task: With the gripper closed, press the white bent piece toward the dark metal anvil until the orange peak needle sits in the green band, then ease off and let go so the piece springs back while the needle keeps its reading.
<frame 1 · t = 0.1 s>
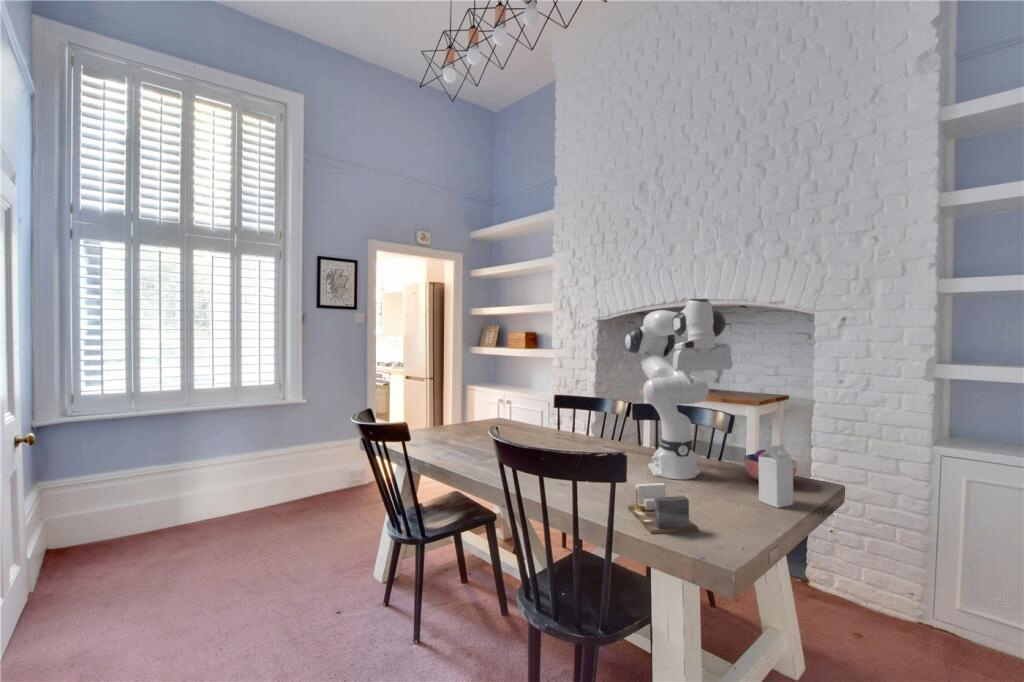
hand: (703, 383, 167), 39 cm above the table, tool pointing down, fingers open, 8 cm apart
gauge base: (660, 518, 147), on the table
peak needle: (639, 499, 151), point 5 cm above the table, slide at 0.0 cm
cell model: (770, 482, 180), on the table
white bent piece: (654, 498, 152), point 5 cm above the table, slide at 0.0 cm
milk carton: (775, 503, 158), on the table
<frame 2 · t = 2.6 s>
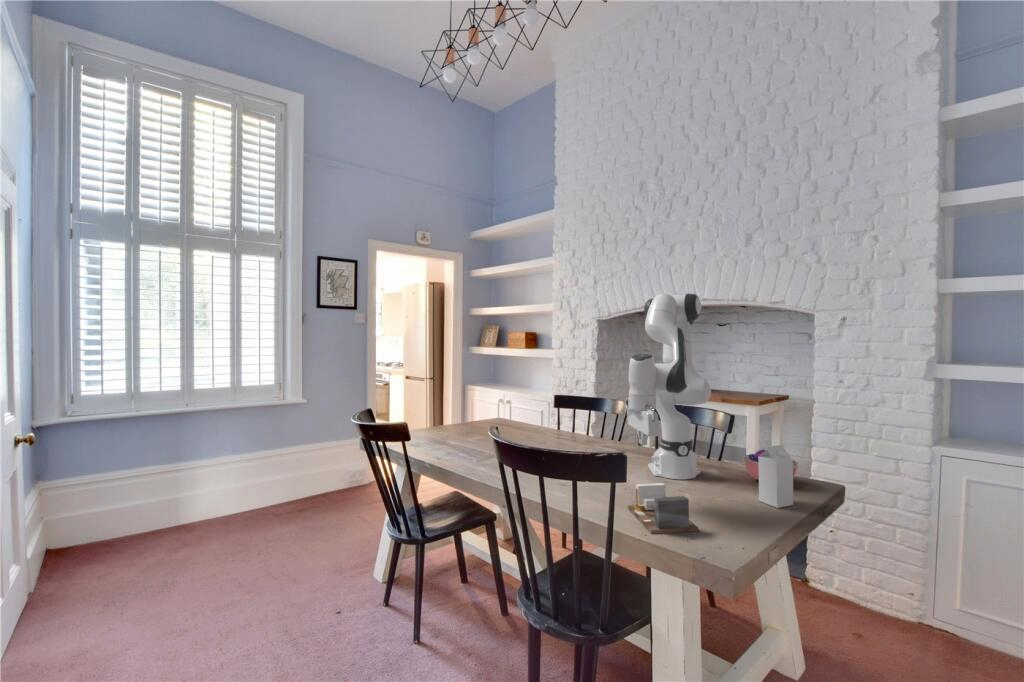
hand: (643, 444, 161), 20 cm above the table, tool pointing down, fingers closed
nothing on the table moved.
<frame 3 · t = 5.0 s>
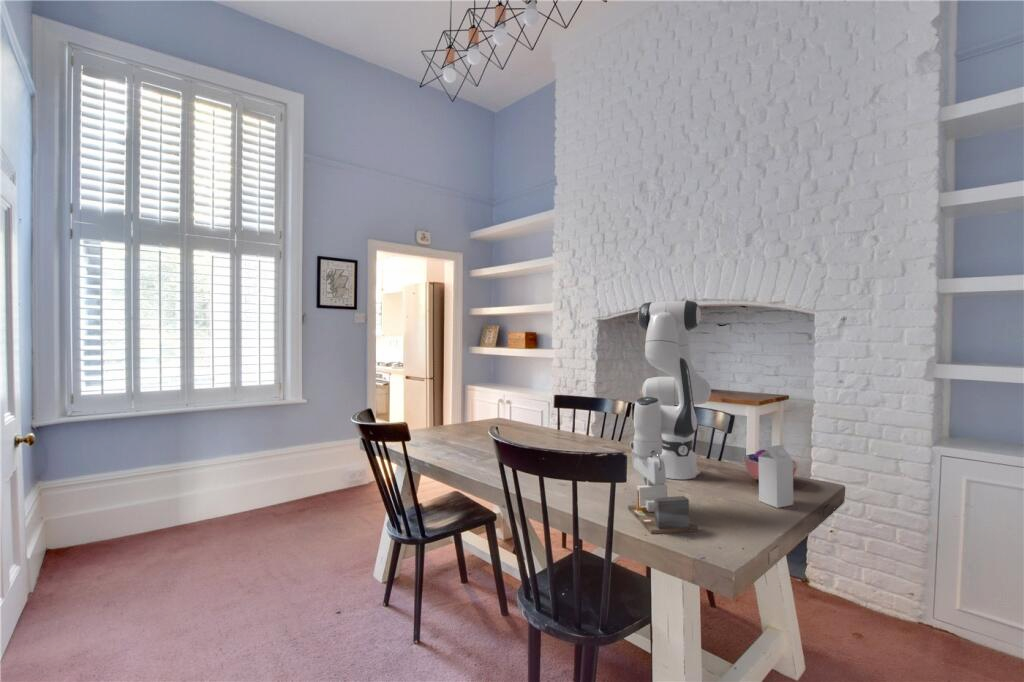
hand: (648, 490, 156), 6 cm above the table, tool pointing down, fingers closed
peak needle: (640, 500, 150), point 5 cm above the table, slide at 1.2 cm, touching white bent piece
white bent piece: (656, 499, 150), point 5 cm above the table, slide at 1.5 cm, touching gripper, peak needle
everything else where it was.
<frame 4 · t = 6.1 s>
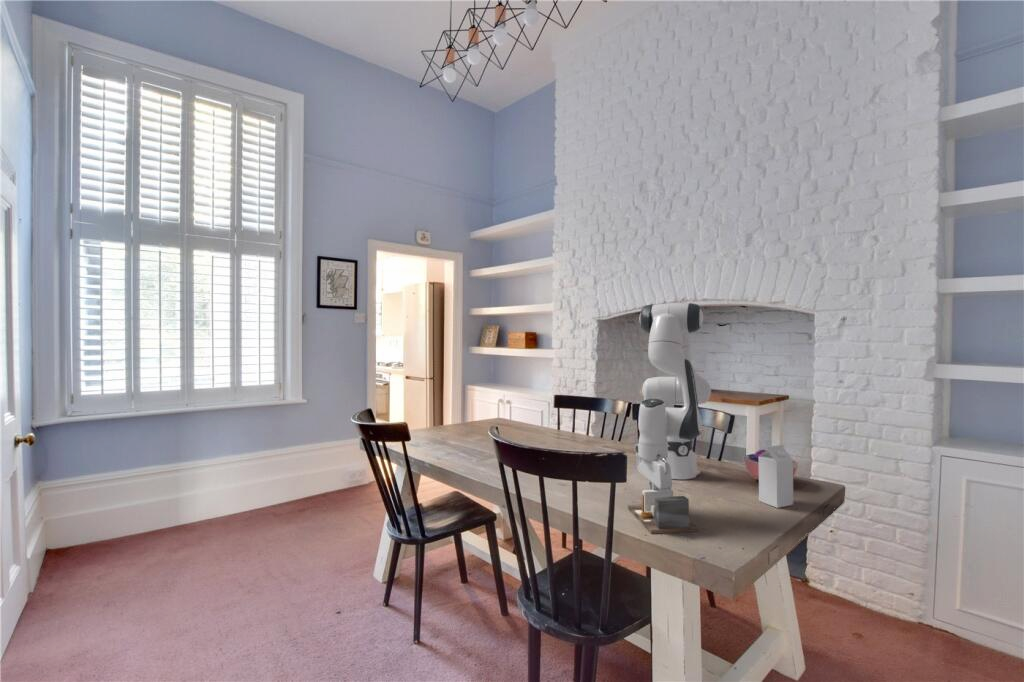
hand: (653, 494, 152), 6 cm above the table, tool pointing down, fingers closed
peak needle: (645, 505, 146), point 5 cm above the table, slide at 5.5 cm, touching white bent piece
white bent piece: (661, 504, 146), point 5 cm above the table, slide at 5.8 cm, touching gripper, peak needle
everything else where it was.
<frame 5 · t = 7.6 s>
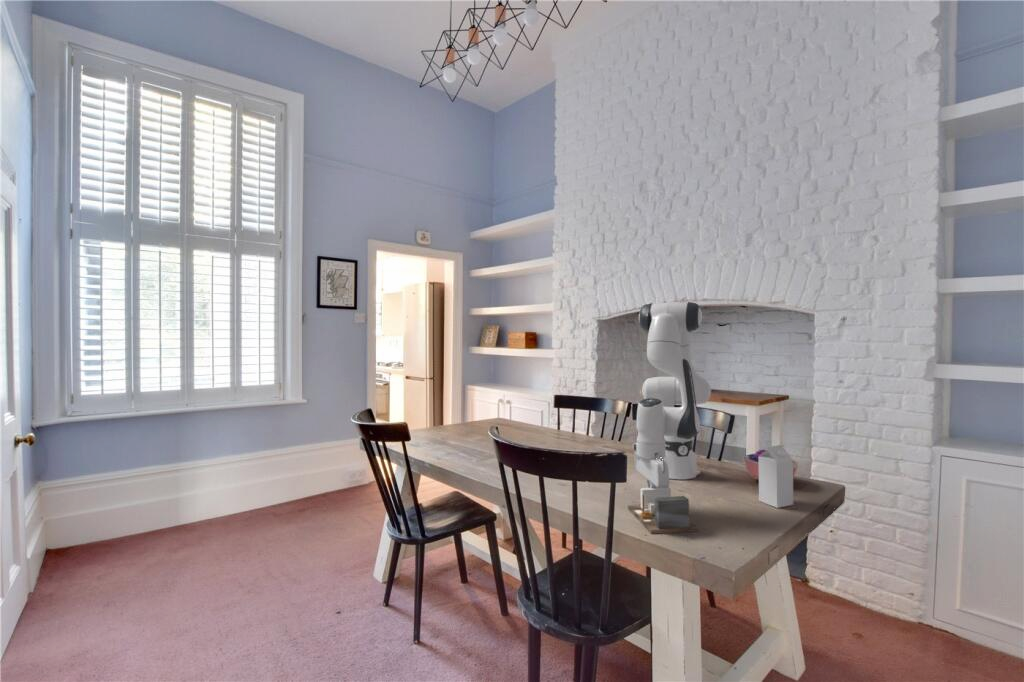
hand: (651, 493, 154), 6 cm above the table, tool pointing down, fingers closed
peak needle: (645, 505, 146), point 5 cm above the table, slide at 5.6 cm
white bent piece: (659, 502, 148), point 5 cm above the table, slide at 4.0 cm, touching gripper
everything else where it was.
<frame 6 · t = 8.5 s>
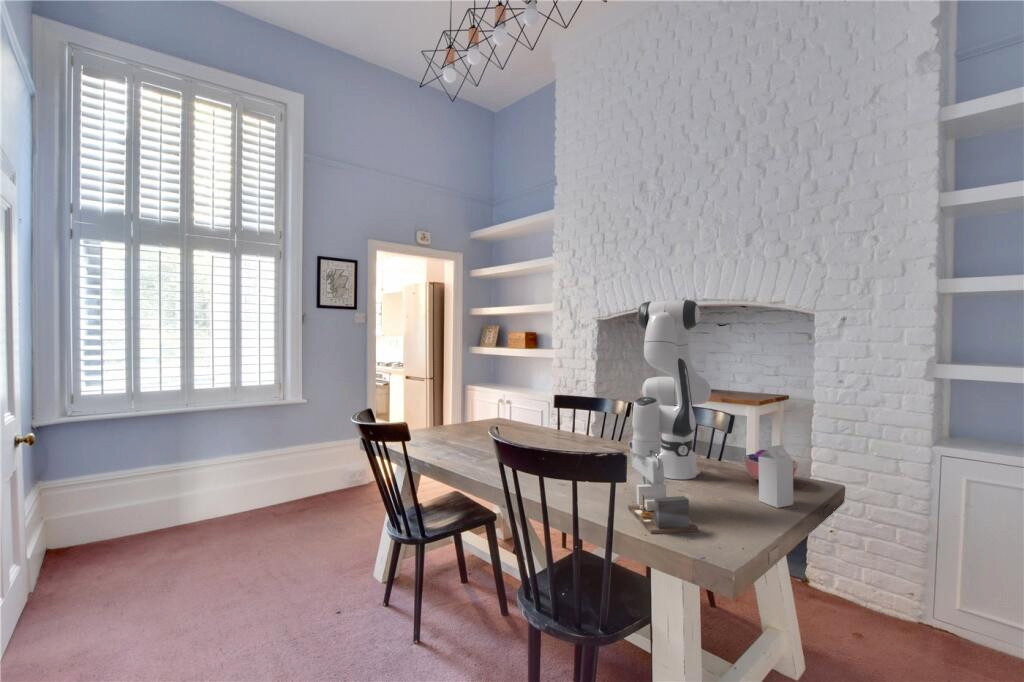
hand: (647, 489, 159), 5 cm above the table, tool pointing down, fingers closed
white bent piece: (655, 499, 151), point 5 cm above the table, slide at 0.6 cm
everything else where it was.
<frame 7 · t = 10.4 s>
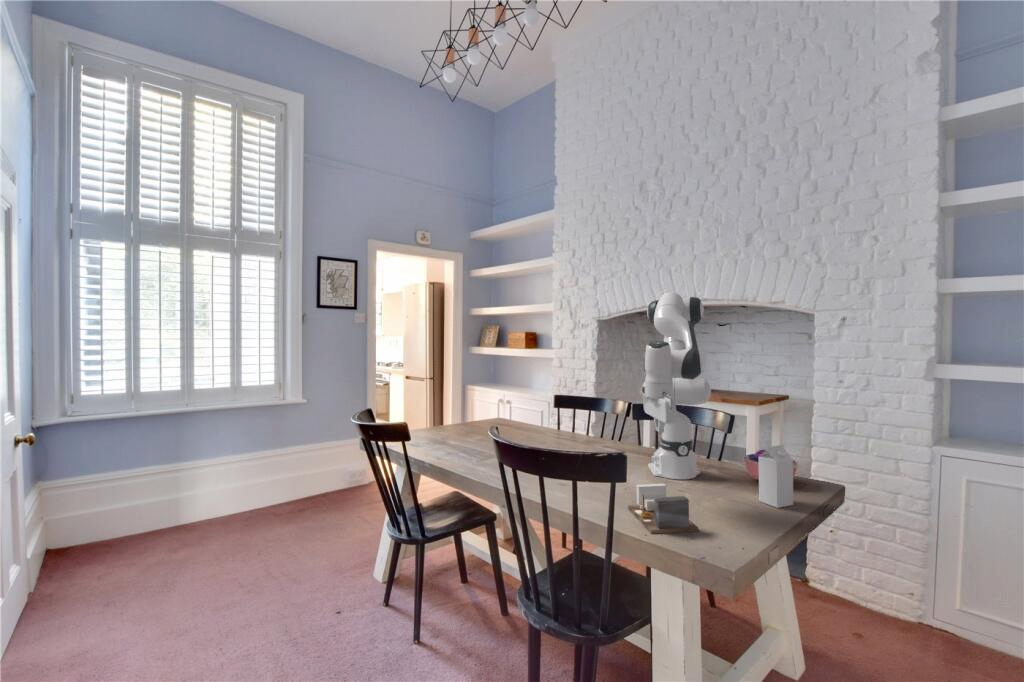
hand: (659, 431, 160), 24 cm above the table, tool pointing down, fingers closed
nothing on the table moved.
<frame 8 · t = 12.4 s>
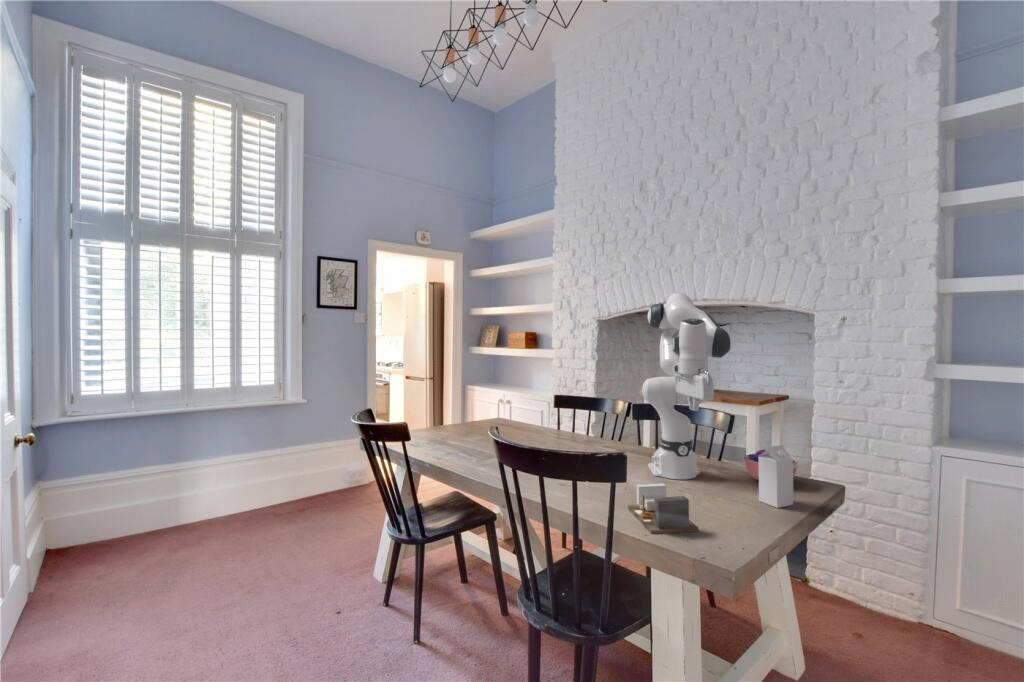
hand: (694, 410, 158), 31 cm above the table, tool pointing down, fingers closed
nothing on the table moved.
at the end: peak needle slide at 5.6 cm; white bent piece slide at 0.6 cm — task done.
